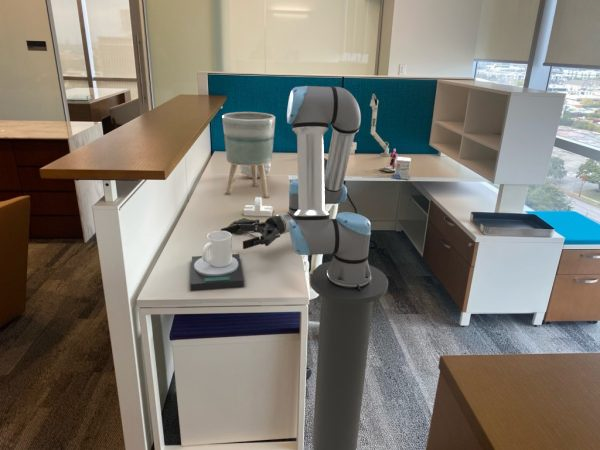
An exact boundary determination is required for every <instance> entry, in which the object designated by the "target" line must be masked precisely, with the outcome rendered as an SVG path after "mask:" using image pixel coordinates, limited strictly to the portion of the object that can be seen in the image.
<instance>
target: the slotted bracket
mask: <svg viewBox="0 0 600 450" xmlns="http://www.w3.org/2000/svg"><path fill="white" fill-rule="evenodd" d="M273 209H274V208H273V206H272V205H263V197H261V196H255V198H254V205H253V204H252V205H251V204H246V205H244V208H243V216H248V217H249V216H250V217H251V216H252V217H272V216H273V213H274V212H273V211H274V210H273Z"/></svg>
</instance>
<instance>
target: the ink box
mask: <svg viewBox="0 0 600 450" xmlns="http://www.w3.org/2000/svg"><path fill="white" fill-rule="evenodd" d="M411 161H412V158H411V157H404V156H397V158H396V166H395V171H394V177H393V178H394V179H401V180H409V176H410V168H411Z"/></svg>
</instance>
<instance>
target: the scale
mask: <svg viewBox="0 0 600 450" xmlns="http://www.w3.org/2000/svg"><path fill="white" fill-rule="evenodd" d="M206 258H207V259H208V255H206ZM190 266H191V268H190V291H202V290H203V291H204V290H217V289H219V290H220V289H230V288H244V287H245V279H244V273H243V269H242V262H241V257H240V253H232V262H231V264H230V265H228V266H225V267H214V266H212V265H210V264H209V263H205V262H204V261H203V259H202V255H198V256H197V255H195V256H191V265H190Z"/></svg>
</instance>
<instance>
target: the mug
mask: <svg viewBox="0 0 600 450" xmlns="http://www.w3.org/2000/svg"><path fill="white" fill-rule="evenodd" d="M206 241H207V242H206V244H205V245H204V246H203V249H202V250H201V256H202V259H203V261H204V262H205V263H209V264H210V265H212V266H214V267H225V266H228V265H230V264H231V262H232V254H233V235H232V234H231V233H230V232H227V231H221V230H214V231H210V232H209V233H208V234H206ZM206 256H208V259H207V258H206Z"/></svg>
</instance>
